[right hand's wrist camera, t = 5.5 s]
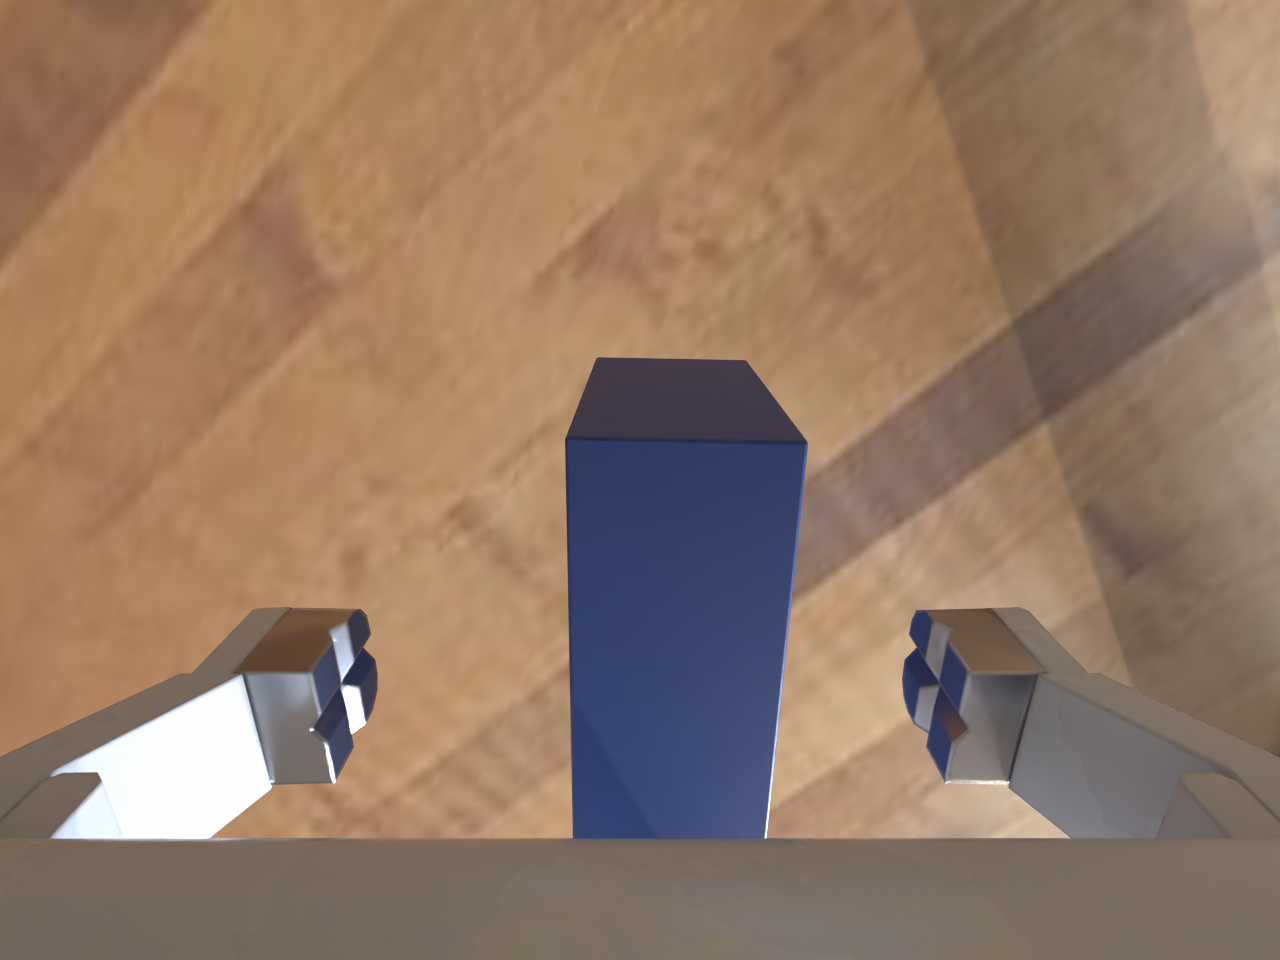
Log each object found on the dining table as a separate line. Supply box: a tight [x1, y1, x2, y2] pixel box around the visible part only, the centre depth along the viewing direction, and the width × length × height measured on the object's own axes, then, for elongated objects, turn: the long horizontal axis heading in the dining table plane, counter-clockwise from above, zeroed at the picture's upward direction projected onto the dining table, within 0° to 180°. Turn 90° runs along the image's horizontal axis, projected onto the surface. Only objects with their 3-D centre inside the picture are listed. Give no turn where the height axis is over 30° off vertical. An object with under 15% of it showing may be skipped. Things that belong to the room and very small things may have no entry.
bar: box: [565, 357, 808, 838], centre depth 22 cm, size 26×5×9 cm, turn 179°
